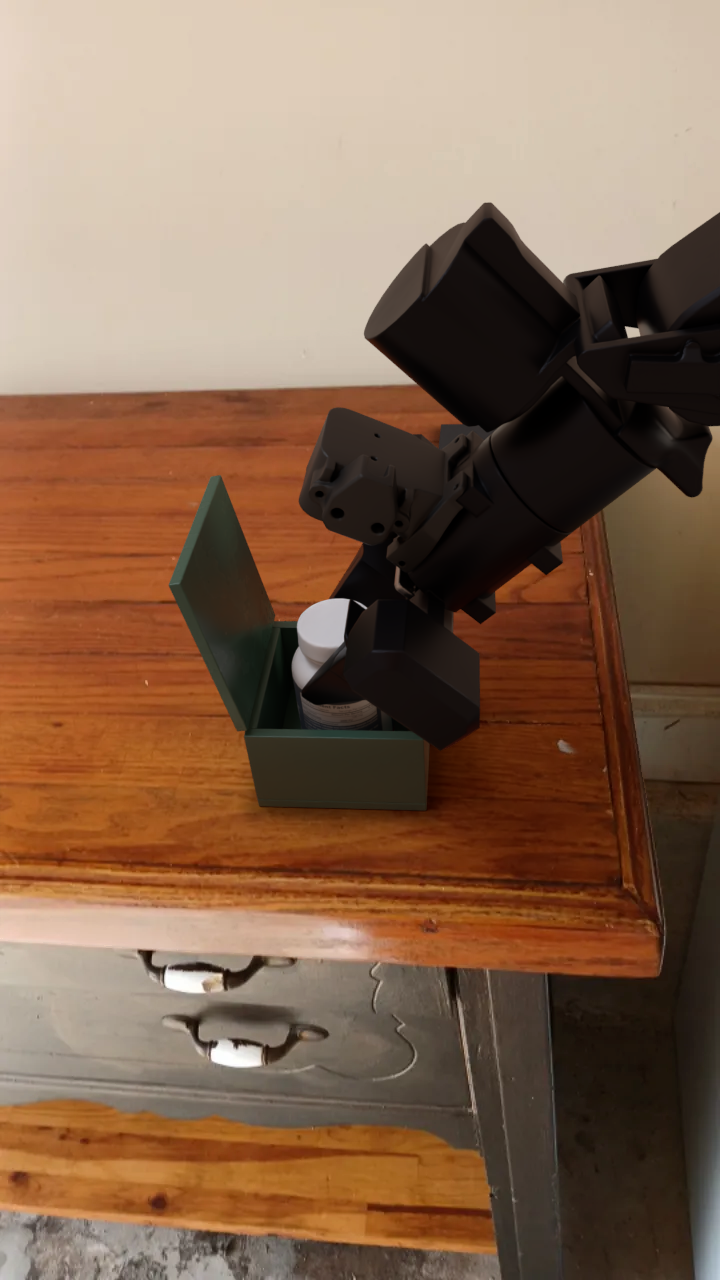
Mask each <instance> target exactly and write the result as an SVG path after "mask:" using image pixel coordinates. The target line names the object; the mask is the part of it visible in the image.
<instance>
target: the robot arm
mask: <svg viewBox="0 0 720 1280" xmlns="http://www.w3.org/2000/svg"><path fill="white" fill-rule="evenodd" d="M626 327H627V328H632V329H638V332H639V336H631V337H629V336H628V333H627V329H626ZM363 336H364V339H365V340H366V341H368V342H369V343H370V345H372V346H373V347H374V348H375V349H376V350H377V351H379V352H380V353H381V354H382V355H383V356H384V357H386V358H387V360H389V361H390V362H391V363H393V365H394V366H396V367H397V368H398V369H399V370H400V371H401V372H403V373H404V374H405V375H406V376H407V378H410V380H412V381H413V382H414V383H415V384H416V385H417V386H419V388H421V389H422V390H423V391H424V392H425V393H426V394H428V395H429V396H430V397H431V398H432V399H434V400H435V402H436V403H438V404H439V405H440V406H441V407H443V408H444V409H445V410H446V411H447V412H448V413H449V414H450V415H452V417H454V418H455V419H456V420H458V421H459V422H460V424H463V425H465V426H468V427H471V426H477V425H479V426H480V427H481V428H482V429H483V430H484V431H486V432H490V431H493V430H495V429H496V428H498V427H499V428H498V429H496V430H495V431H494V432H493V433H492V434H491V435H490V436H489V437H488V438H486V439H485V440H483V439H482V438H481V437H480V436H479V435H477V434H476V433H475V432H474V431H473V430H472V431H471V432H470V433H469V434H468V435H467V436H465V435H464V434H460V435H458V436H457V437H456V438H455V439H454V440H453V441H452V442H450V443H449V444H448V445H447V446H445V447H444V448H442V449H441V450H440V449H439V447H437V446H436V445H434V443H432V442H431V440H429V439H428V438H427V437H425V435H423V434H422V433H410V432H409V431H406V430H404V429H401V428H399V427H396V426H393V425H392V424H389V423H387V422H384V421H381V420H378V419H375V418H373V417H371V416H369V415H365V414H363V413H360V412H358V411H355V410H352V409H350V408H347V407H342V406H341V407H340V406H339V407H336V406H335V407H332V408H331V409H330V410H329V411H328V413H327V415H326V417H325V420H324V423H323V425H322V427H321V430H320V433H319V434H318V438H317V440H316V443H315V445H314V447H313V450H312V452H311V455H310V458H309V459H308V462H307V464H306V467H305V474H304V478H303V482H302V486H301V490H300V492H299V495H298V505H299V507H300V508H301V510H302V512H304V513H305V514H306V515H307V516H309V517H311V518H313V519H314V520H317V521H321V522H322V523H323V525H324V527H325V528H326V529H327V530H328V531H329V532H332V533H335V534H337V535H340V536H343V537H346V538H349V539H351V540H354V541H356V542H360V543H362V544H361V545H360V547H359V548H358V550H357V552H356V553H355V556H354V557H353V559H352V561H351V562H350V564H349V566H348V567H347V569H346V571H345V572H344V573H343V575H342V577H341V578H340V580H339V582H338V583H337V585H336V586H335V588H334V589H333V591H332V593H331V594H330V596H329V598H328V599H350V600H349V605H348V611H347V618H346V624H345V631H344V642H343V643H342V644H341V645H340V646H339V647H338V649H337V650H336V651H335V652H334V653H333V654H332V655H331V656H330V657H329V658H328V660H327V661H326V662H325V663H324V664H323V665H322V666H321V667H320V668H319V669H318V671H317V672H316V673H315V674H314V675H313V676H312V678H311V679H310V680H309V681H308V683H307V684H306V685H305V686H304V688H303V689H302V693H301V696H302V697H303V698H304V699H306V700H307V701H309V702H310V703H312V704H314V705H326V704H335V703H344V702H353V701H362V700H367V701H368V702H369V703H371V704H372V705H374V706H375V707H377V708H378V709H380V710H381V711H383V712H384V713H386V714H387V715H388V716H390V717H391V718H393V719H394V720H396V721H397V722H399V723H400V724H402V725H403V726H405V727H406V728H408V729H409V730H410V731H412V732H413V733H415V734H416V735H418V736H419V737H421V738H422V739H424V740H425V741H427V742H428V743H429V744H430V745H431V746H433V748H435V749H437V750H438V751H440V752H441V751H444V750H447V749H450V748H451V747H453V746H454V745H456V744H458V743H459V742H460V741H462V740H464V739H465V738H466V737H468V736H470V735H471V734H473V733H474V732H476V731H477V730H479V729H480V728H481V660H480V659H481V658H480V657H481V654H480V653H481V652H479V651H477V650H476V649H474V648H473V647H472V646H471V645H469V644H468V643H467V642H465V641H464V640H463V639H462V638H461V637H459V636H457V635H456V634H455V633H454V621H455V620H454V619H455V618H454V615H455V613H457V612H459V611H460V610H461V611H462V612H463V613H464V614H466V615H468V616H469V617H470V618H471V619H473V620H474V621H475V622H477V623H478V624H479V625H482V624H483V623H485V622H486V621H487V620H489V619H490V618H491V617H493V616H494V615H495V614H496V613H497V606H496V604H497V601H496V592H497V591H498V590H499V589H500V588H502V587H504V585H506V584H508V582H510V581H511V580H513V578H515V577H516V576H517V575H518V574H520V573H522V572H523V571H524V570H526V569H527V568H528V567H529V566H531V565H533V566H534V567H535V568H536V569H537V570H538V571H540V572H541V573H543V574H544V576H548V575H549V574H550V573H552V572H553V571H554V570H555V569H557V568H559V567H560V566H561V565H563V564H564V559H563V550H562V541H563V540H565V539H567V537H568V536H570V535H571V534H573V533H574V532H575V531H576V530H578V529H579V528H580V527H582V526H583V525H584V524H586V523H587V522H588V521H589V520H591V519H592V518H594V517H595V516H596V515H597V514H599V513H600V512H601V511H603V510H604V509H605V508H607V507H608V506H610V504H613V502H614V501H616V500H617V499H619V498H620V497H621V496H622V495H624V494H625V493H626V492H627V491H629V490H630V489H631V488H633V487H634V486H635V485H637V483H640V482H641V481H642V480H643V479H645V478H646V477H647V476H648V475H650V474H651V473H653V472H654V471H655V470H656V469H657V470H658V471H659V472H661V474H663V475H664V476H665V477H666V478H667V479H668V480H669V481H670V483H672V485H674V486H675V487H676V488H677V489H678V490H679V491H681V493H683V494H684V496H685V497H687V498H691V499H692V498H696V497H699V496H700V495H701V494H702V492H703V491H704V490H703V489H704V488H703V487H704V486H703V482H704V470H705V461H706V457H707V453H708V451H709V448H710V445H711V444H712V442H713V434H712V431H711V428H710V427H720V211H719V212H718V213H716V214H715V215H713V216H712V217H710V218H709V219H708V220H706V221H705V222H703V223H702V224H700V225H699V226H698V227H696V228H695V229H693V230H692V231H691V232H689V233H688V234H686V235H685V236H683V237H682V238H681V239H679V240H678V241H677V242H675V243H674V244H672V245H670V247H668V248H667V249H666V250H665V251H663V252H662V253H661V254H660V255H659V256H658V258H653V259H648V260H647V259H646V260H642V261H636V262H630V263H624V264H618V265H613V266H607V267H606V266H605V267H601V268H595V269H590V270H584V271H579V272H572V273H569V274H567V275H565V277H564V278H563V280H561V279H560V278H559V277H558V276H557V275H556V274H555V273H554V272H553V271H552V270H551V269H550V268H549V267H548V266H547V265H546V264H545V263H544V262H543V261H542V259H540V258H539V257H538V256H537V255H536V254H535V253H534V252H533V251H532V250H531V249H530V248H529V247H528V245H526V243H525V242H524V241H523V240H522V239H521V237H520V235H519V234H518V231H517V230H516V228H515V226H514V225H513V223H512V222H511V221H510V220H509V219H508V217H507V216H505V214H503V213H502V211H501V210H499V208H498V207H497V206H496V205H495V204H494V203H492V202H490V201H489V202H483V203H482V204H481V205H480V206H479V207H478V208H477V209H476V210H475V211H474V212H473V214H471V216H470V217H469V218H468V219H467V220H466V221H465V222H459V223H457V224H455V225H454V226H452V227H450V228H449V229H448V230H446V231H445V232H444V233H443V234H441V235H440V236H438V238H437V239H435V240H434V241H433V242H432V243H431V244H430V245H429V244H428V243H425V244H423V245H422V246H421V247H420V248H419V249H418V250H417V252H415V253H414V255H413V256H412V257H411V258H410V259H409V260H408V262H407V263H406V264H405V265H404V266H403V268H402V269H401V270H400V271H399V272H398V273H397V275H396V276H395V277H394V279H393V280H392V282H390V284H389V286H388V287H387V288H386V290H385V291H384V292H383V294H382V295H381V297H380V298H379V300H378V302H377V303H376V305H375V306H374V308H373V310H372V312H371V313H370V316H369V317H368V319H367V322H366V324H365V327H364V330H363ZM355 601H357V602H359V603H361V604H363V605H364V606H366V607H367V609H365V608H363V607H362V606H360V605H359V604H358V603H356V602H355Z"/></svg>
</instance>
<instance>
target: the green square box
mask: <svg viewBox="0 0 720 1280" xmlns="http://www.w3.org/2000/svg"><path fill="white" fill-rule="evenodd" d="M297 623H298V620H274V623H273V627H272V632H271V636H270V640H269V644H268V648H267V652H266V656H265V660H264V664H263V668H262V673H261V677H260V681H259V685H258V689H257V693H256V697H255V701H254V705H253V710H252V714H251V718H250V722H249V726H248V730H247V731H244V734H243V740H244V744H245V749H246V752H247V758H248V762H249V769H250V771H251V772H250V773H251V777H252V781H253V786H254V791H255V795H256V798H257V805H258V807H278V808H312V809H313V808H314V809H352V810H353V809H354V810H384V811H385V810H387V811H390V810H391V811H423V812H424V811H427V808H428V804H427V803H428V787H429V785H428V784H429V766H430V765H429V763H430V745H431V744H429V743H428V742H427V741H425V740H424V739H422V738H421V737H419V736H418V735H416V734H415V733H413V732H412V731H410V730H409V729H408V728H406V727H405V726H403V725H402V724H400V723H399V722H397V721H396V720H394V731H365V730H307V729H301V723H300V718H299V711H298V706H297V699H296V693H295V688H294V682H293V675H292V660H293V657H294V654H295V652H296V650H297V648H298V647H299V644H298V633H297Z"/></svg>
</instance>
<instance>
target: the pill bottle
mask: <svg viewBox="0 0 720 1280" xmlns="http://www.w3.org/2000/svg"><path fill="white" fill-rule="evenodd" d="M349 600H350V599H329V598H328V599H325V600H320V601H318V602H316V603H314V604H312V605H310V606H309V607H307V608H306V609H304V611H302V613H301V614H300V616H299V617H298V620H297V621H298V623H297V633H298V644H299V647H298V648H297V650H296V652H295V654H294V657H293V660H292V675H293V682H294V688H295V693H296V699H297V706H298V711H299V718H300V723H301V729H307V730H365V731H394V719H393V718H391V717H390V716H388V715H387V714H386V713H384V712H383V711H381V710H380V709H378V708H377V707H375V706H374V705H372V704H371V703H369V702H368V701H367V700H362V701H353V702H344V703H335V704H326V705H314V704H312V703H310V702H309V701H307V700H306V699H304V698H303V697H302V696H301V693H302V689H303V688H304V686H305V685H306V684H307V683H308V681H309V680H310V679H311V678H312V676H313V675H314V674H315V673H316V672H317V671H318V669H319V668H320V667H321V666H322V665H323V664H324V663H325V662H326V661H327V660H328V658H329V657H330V656H331V655H332V654H333V653H334V652H335V651H336V650H337V649H338V647H339V646H340V645H341V644H342V643H343V642H344V631H345V624H346V618H347V611H348V605H349ZM355 602H356V603H358V604H359V605H360V606H362V607H363V608H365V609H367V607H366V606H364V605H363V604H361V603H359V602H357V601H355Z"/></svg>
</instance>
